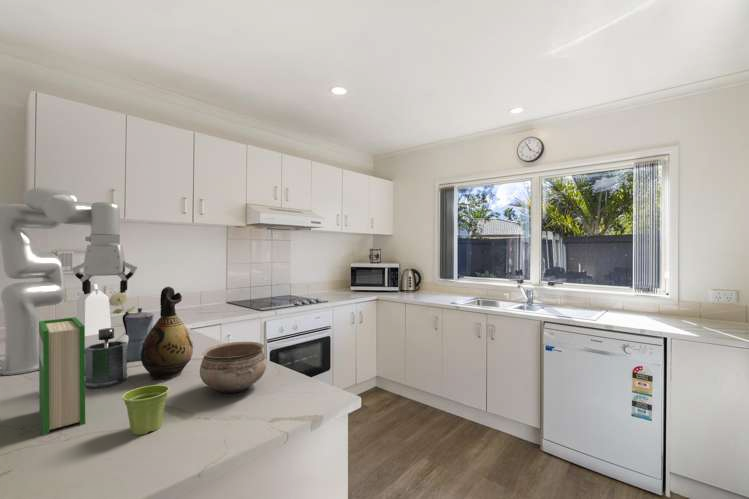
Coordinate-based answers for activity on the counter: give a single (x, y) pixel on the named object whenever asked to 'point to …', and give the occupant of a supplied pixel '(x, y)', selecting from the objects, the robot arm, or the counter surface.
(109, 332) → the dark grey stemmed piece
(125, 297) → the flower in vase
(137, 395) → the plant pot
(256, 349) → the cooking pot
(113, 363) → the carafe
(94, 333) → the milk
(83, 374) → the hardback book
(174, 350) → the ceramic jug
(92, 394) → the counter surface
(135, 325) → the moka pot
